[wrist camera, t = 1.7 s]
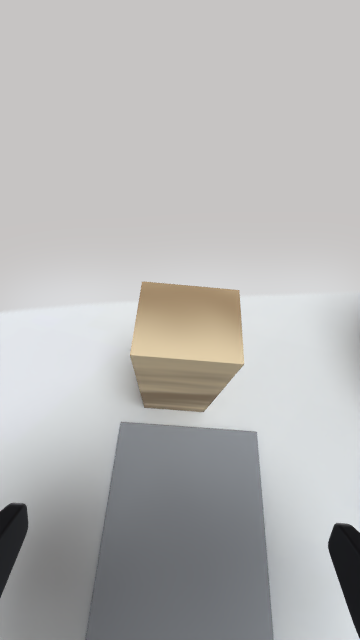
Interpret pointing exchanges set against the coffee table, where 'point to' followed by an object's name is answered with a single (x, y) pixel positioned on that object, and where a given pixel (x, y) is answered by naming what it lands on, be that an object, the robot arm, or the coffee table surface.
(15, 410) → the coffee table surface
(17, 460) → the coffee table surface
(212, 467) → the slate mat
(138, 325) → the oak block
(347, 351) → the coffee table surface
